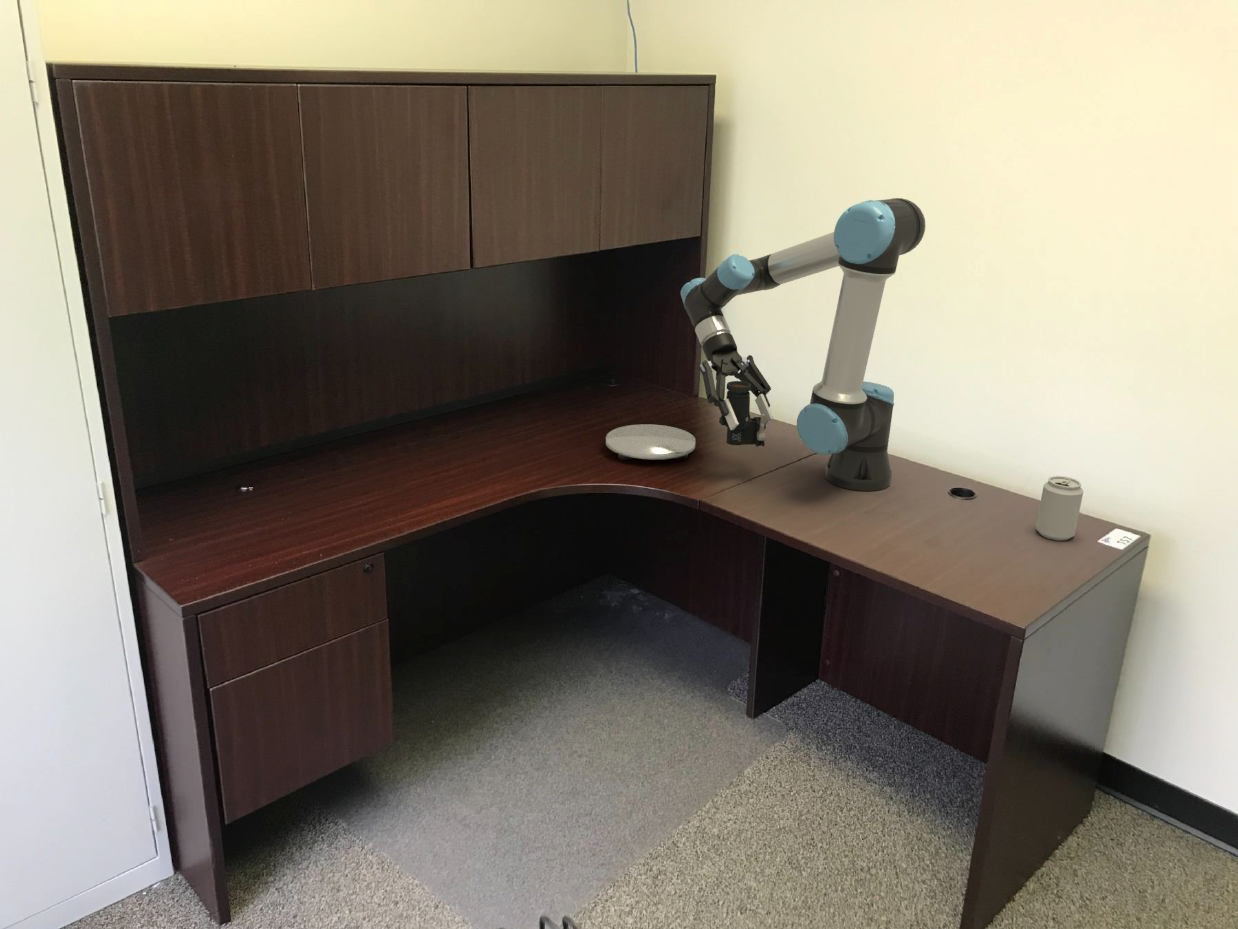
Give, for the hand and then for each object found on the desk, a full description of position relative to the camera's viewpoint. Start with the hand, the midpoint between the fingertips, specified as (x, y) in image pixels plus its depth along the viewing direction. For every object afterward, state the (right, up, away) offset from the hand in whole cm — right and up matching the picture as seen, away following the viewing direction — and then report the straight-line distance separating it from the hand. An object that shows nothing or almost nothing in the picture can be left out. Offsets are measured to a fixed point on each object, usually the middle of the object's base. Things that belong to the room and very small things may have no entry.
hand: (752, 424), depth 227 cm
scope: (-2, -4, +4) cm, 6 cm away
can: (+60, -24, -18) cm, 67 cm away
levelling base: (-22, -6, +23) cm, 32 cm away
